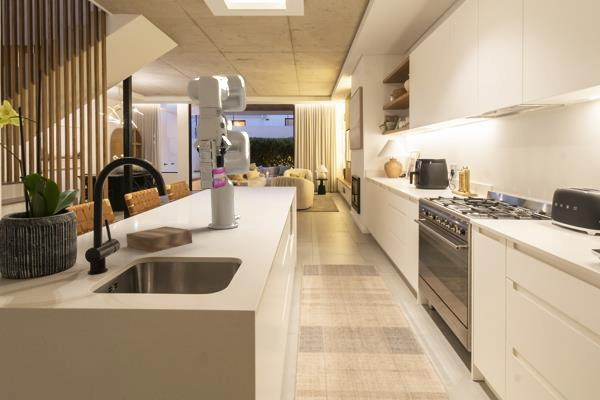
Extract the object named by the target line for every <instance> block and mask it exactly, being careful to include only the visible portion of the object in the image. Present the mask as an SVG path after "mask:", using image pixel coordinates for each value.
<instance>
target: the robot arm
mask: <svg viewBox="0 0 600 400" xmlns="http://www.w3.org/2000/svg"><path fill="white" fill-rule="evenodd" d="M186 87H187V88H186V89H187V90H186V91H187V96H188V98H189V99H190V101H192V102H198V113H199V115H198V116H199V118H198V119H197V127H196V141H195V142H194V144H193V147H194V148H195V150H196V152H198V154H199V143H198V140H215V147H216V151H217V154H218V156H217V157H216V160H217V168H222V167H224V157H225V178H226V186H223V187H219V188H215V189H210V203H211V205H210V207H211V208H210V209H211V211H210V212H211V222H210V223H208V228H209V229H214V230H225V229H227V230H229V229H234V228H237V227H239V223H238V222H236V221H237V220H240V219H241V215H239V214H235V191H234V188H235V187H234V183H233V182H232V180H231V179H230V178H229V177H228V176H232V175H233V176H234V175H246V174H248V173H249V171H250V168H251V144H250V143H251V141H250V136H249V134H248V133H247V132H246V131H244V130H233V122H232V121H231V119H230V118H229V117H228V116H227V115H225V112H226V113H229V112H230V113H231V112H232V113H233V112H234V113H236V112H237V113H239V112H244V111H245V110H246V108H247V102H248V101H247V93H246V84H245V81H244V78H243V77H242V76H241V74H235V73H233V74H231V73H229V74H228V73H227V74H225V73H224V74H223V73H222V74H220V73H219V74H214V75H202V76H200V77H197V78H196V77H195V78H192V79H190V80H189V81H188V83H187V86H186ZM223 147H224V148H223Z"/></svg>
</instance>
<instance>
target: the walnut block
mask: <svg viewBox="0 0 600 400" xmlns="http://www.w3.org/2000/svg"><path fill="white" fill-rule="evenodd" d="M192 233H193V231H192V229H186V228H179V227H173V226H165V225H164V226H161V227H155V228H149V229H145V230H139V231H136V232H129V233H126V247H127V248H129V249H134V250H135V249H136V250H139V251H144V252H149V253H157V252H161V251H164V250H169V249H174V248H178V247H181V246H185V245H189V244H193V234H192Z"/></svg>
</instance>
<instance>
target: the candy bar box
mask: <svg viewBox="0 0 600 400" xmlns="http://www.w3.org/2000/svg"><path fill="white" fill-rule="evenodd" d="M198 143H199V153H198V158H199V159H198V160H199V173H200V175H199V176H200V189H202V190H211V189H215V188H219V187H223V186H226V178H225V157H224V167H222V168H217V160H216V157H217V156H218V154H217V151H216V147H215V140H198ZM223 148H224V147H223Z"/></svg>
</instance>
